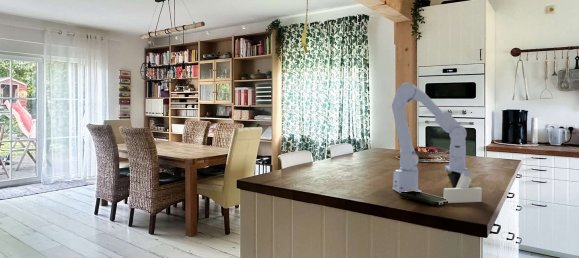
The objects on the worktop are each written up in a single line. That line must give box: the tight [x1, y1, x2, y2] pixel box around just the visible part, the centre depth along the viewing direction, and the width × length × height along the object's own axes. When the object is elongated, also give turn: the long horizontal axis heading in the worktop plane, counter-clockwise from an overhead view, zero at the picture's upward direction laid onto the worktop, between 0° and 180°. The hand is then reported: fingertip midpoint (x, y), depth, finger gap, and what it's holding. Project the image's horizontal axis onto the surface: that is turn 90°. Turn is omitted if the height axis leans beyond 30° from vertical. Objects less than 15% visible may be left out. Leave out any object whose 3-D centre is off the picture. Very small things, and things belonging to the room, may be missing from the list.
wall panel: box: [443, 186, 483, 204], centre depth 138 cm, size 14×2×5 cm, turn 97°
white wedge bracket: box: [456, 173, 472, 188], centre depth 143 cm, size 4×10×9 cm
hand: (456, 191), depth 147 cm, fingers closed
